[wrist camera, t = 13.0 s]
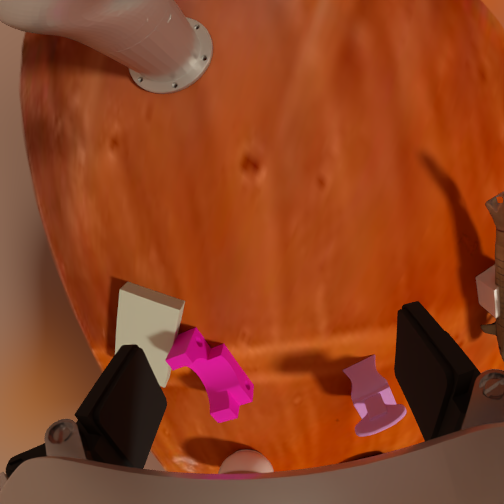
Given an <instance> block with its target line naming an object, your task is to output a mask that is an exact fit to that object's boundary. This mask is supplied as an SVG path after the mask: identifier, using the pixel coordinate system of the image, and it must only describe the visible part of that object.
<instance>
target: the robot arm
mask: <svg viewBox="0 0 504 504" xmlns="http://www.w3.org/2000/svg"><path fill="white" fill-rule="evenodd" d="M0 21H2V22H3V23H5V24H6V25H8V26H10V27H13V28H15V29H18V30H21V31H25V32H31V33H37V34H46V35H56V36H62V37H66V38H69V39H72V40H75V41H78V42H80V43H82V44H84V45H86V46H89V47H91V48H93V49H94V50H96V51H98V52H100V53H102V54H104V55H106V56H108V57H110V58H111V59H113V60H115V61H117V62H119V63H121V64H123V65H124V66H126V67H128V68H129V72H130V75H131V77H132V78H133V80H134V81H135V82H136V83H137V85H139V86H140V87H142V88H143V89H145V90H147V91H149V92H153V93H158V94H168V93H174V92H177V91H180V90H183V89H185V88H187V87H189V86H190V85H192V84H193V83H195V82H196V81H197V80H198V79H199V78H200V77H201V76H202V75H203V73H204V72H205V71H206V70H207V68H208V66H209V64H210V62H211V58H212V55H213V43H212V39H211V36H210V34H209V32H208V31H207V29H206V28H205V27H204V26H203V25H202V24H201V23H199V22H198V21H196V20H194V19H191V18H187V17H185V16H184V14H183V13H182V11H181V10H180V8H179V7H178V5H177V4H176V2H175V1H174V0H0ZM197 28H199V29H197ZM204 59H207V60H205V61H204ZM142 80H143V81H142ZM141 81H142V82H141ZM176 85H178V86H177V87H176V88H175V86H176ZM394 370H395V376H396V378H397V380H398V383H399V385H400V387H401V389H402V391H403V393H404V395H405V397H406V399H407V402H408V404H409V406H410V408H411V410H412V412H413V415H414V417H415V419H416V421H417V424H418V426H419V428H420V430H421V433H422V435H423V437H424V440H425V442H422V443H419V444H416V445H413V446H409V447H406V448H402V449H399V450H395V451H392V452H388V453H384V454H380V455H376V456H372V457H368V458H363V459H359V460H354V461H349V462H344V463H339V464H334V465H328V466H321V467H315V468H307V469H299V470H291V471H281V472H268V473H251V474H196V473H178V472H166V471H156V470H147V469H143V468H144V465H145V463H146V460H147V457H148V454H149V452H150V449H151V446H152V444H153V441H154V438H155V436H156V433H157V430H158V428H159V425H160V422H161V420H162V417H163V414H164V412H165V409H166V406H167V401H166V397H165V395H164V393H163V391H162V389H161V387H160V385H159V383H158V381H157V379H156V377H155V375H154V373H153V371H152V368H151V366H150V364H149V362H148V360H147V357H146V355H145V353H144V351H143V349H142V348H139V346H138V345H136V344H131V345H122V346H121V347H120V349H119V350H118V351H117V353H116V354H115V356H114V357H113V358H112V360H111V361H110V363H109V364H108V366H107V367H106V369H105V370H104V371H103V373H102V374H101V376H100V377H99V379H98V380H97V382H96V383H95V385H94V386H93V388H92V389H91V391H90V392H89V394H88V395H87V397H86V398H85V400H84V401H83V403H82V404H81V406H80V407H79V409H78V410H77V412H76V413H75V416H76V417H77V419H78V421H77V422H76V423H75V422H74V421H73V420H70V419H62V420H59V421H57V422H55V423H53V424H52V425H51V426H50V427H49V428H48V429H47V431H46V433H45V443H44V444H42V445H40V446H37V447H35V448H33V449H31V450H28V451H26V452H23V453H21V454H18V455H16V456H14V457H12V458H11V459H10V460H9V462H8V464H7V467H6V474H5V473H4V472H2V473H0V504H504V371H503V370H499V369H491V370H487V371H484V372H483V373H480V372H479V371H478V369H477V368H476V367H475V365H474V364H473V363H472V362H471V360H470V359H469V358H468V357H467V355H466V354H465V353H464V352H463V350H462V349H461V348H460V347H459V346H458V344H457V343H456V342H455V341H454V339H453V338H452V337H451V336H450V335H449V334H448V333H447V332H446V331H444V330H443V329H442V328H441V326H440V325H439V324H438V323H437V322H436V321H435V319H434V318H433V317H432V316H431V315H430V314H429V313H428V311H427V310H426V309H425V308H424V307H423V306H422V305H421V304H420V302H418V301H416V302H412V303H408V304H404V305H403V306H402V309H400V310H398V317H397V339H396V355H395V367H394Z"/></svg>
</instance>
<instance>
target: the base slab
mask: <svg viewBox="0 0 504 504" xmlns="http://www.w3.org/2000/svg"><path fill="white" fill-rule="evenodd" d="M184 304H185V301H183V300H180V299H177V298H174V297H171V296H168V295H165V294H162V293H159V292H156V291H153V290H151V289H148V288H145V287H142V286H139V285H136V284H134V283H131V282H127V283H126V284H125V285H124V286H122V287H121V288H120V292H119V302H118V313H117V326H116V342H115V354H116V353H117V351H118V350H119V349H120V347H121V346H122V345H131V344H136V345H138V346H139V348H142V349H143V351H144V353H145V355H146V357H147V360H148V362H149V364H150V366H151V368H152V371H153V373H154V375H155V377H156V379H157V381H158V383H159V385H160V386H162V387H165V386H166V384H167V382H168V379H169V377H170V372H171V367H170V366H169V365H168V363H167V362H166V361H165V360H166V358H167V356H168V354H169V352H170V350H171V348H172V346H173V344H174V342H175V340H176V338H177V336H178V332H179V327H180V322H181V318H182V313H183V309H184Z"/></svg>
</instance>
